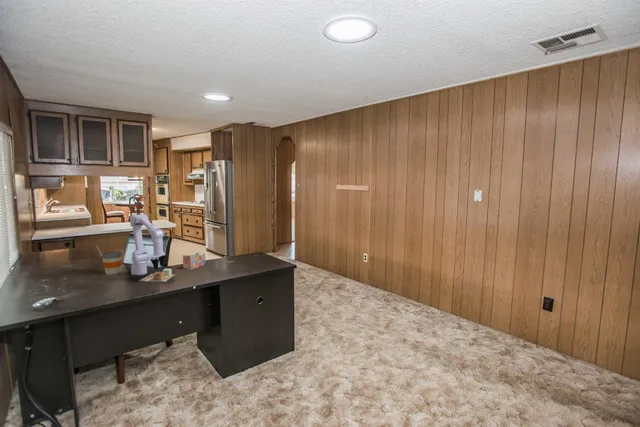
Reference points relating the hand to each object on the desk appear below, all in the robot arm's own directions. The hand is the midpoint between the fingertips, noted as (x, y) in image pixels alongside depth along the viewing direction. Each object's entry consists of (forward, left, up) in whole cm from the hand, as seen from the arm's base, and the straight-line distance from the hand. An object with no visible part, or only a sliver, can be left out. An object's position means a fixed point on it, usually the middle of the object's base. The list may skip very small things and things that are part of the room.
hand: (159, 267), depth 219 cm
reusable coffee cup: (-43, +16, -10) cm, 47 cm away
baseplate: (-3, +4, -9) cm, 11 cm away
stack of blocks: (+10, +35, -10) cm, 38 cm away
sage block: (+1, +9, -8) cm, 12 cm away
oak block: (0, 0, -8) cm, 8 cm away
